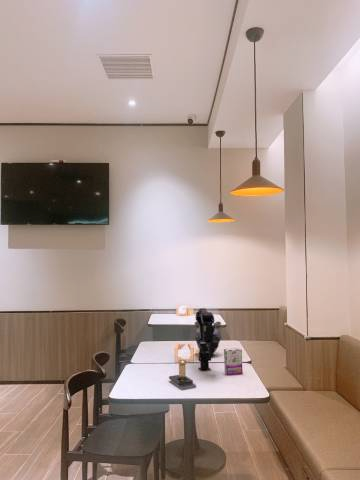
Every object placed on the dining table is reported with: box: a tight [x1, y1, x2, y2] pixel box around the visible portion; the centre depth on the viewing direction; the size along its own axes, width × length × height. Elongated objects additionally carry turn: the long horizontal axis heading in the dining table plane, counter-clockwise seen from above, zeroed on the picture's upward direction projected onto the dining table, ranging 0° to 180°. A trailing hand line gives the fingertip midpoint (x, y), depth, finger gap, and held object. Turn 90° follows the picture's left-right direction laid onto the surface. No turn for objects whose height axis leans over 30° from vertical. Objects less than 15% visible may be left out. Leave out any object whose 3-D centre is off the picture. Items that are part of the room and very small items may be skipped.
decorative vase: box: [194, 321, 222, 359], centre depth 285 cm, size 21×19×28 cm
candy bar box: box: [223, 347, 243, 377], centre depth 238 cm, size 11×5×16 cm, turn 101°
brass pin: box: [177, 359, 187, 381], centre depth 219 cm, size 5×5×14 cm
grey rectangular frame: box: [168, 374, 197, 391], centre depth 219 cm, size 18×10×3 cm, turn 25°
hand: (207, 355), depth 235 cm, fingers open, 9 cm apart
